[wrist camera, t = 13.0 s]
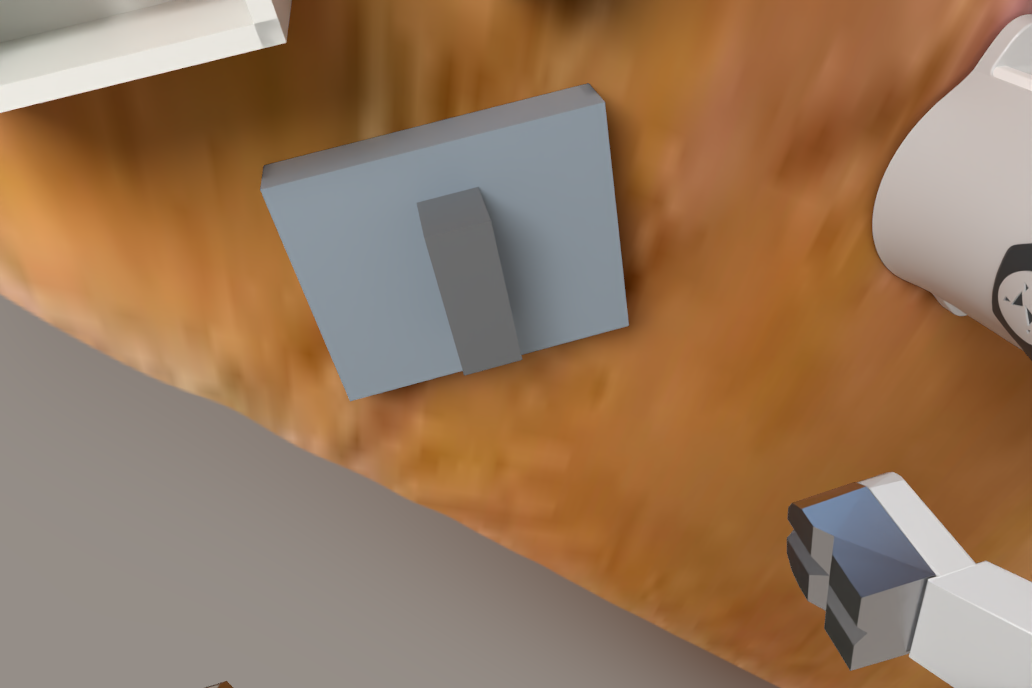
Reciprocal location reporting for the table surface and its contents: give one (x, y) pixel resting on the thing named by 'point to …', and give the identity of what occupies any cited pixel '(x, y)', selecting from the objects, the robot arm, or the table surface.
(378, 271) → the lid
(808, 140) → the table surface
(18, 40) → the storage box
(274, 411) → the table surface
